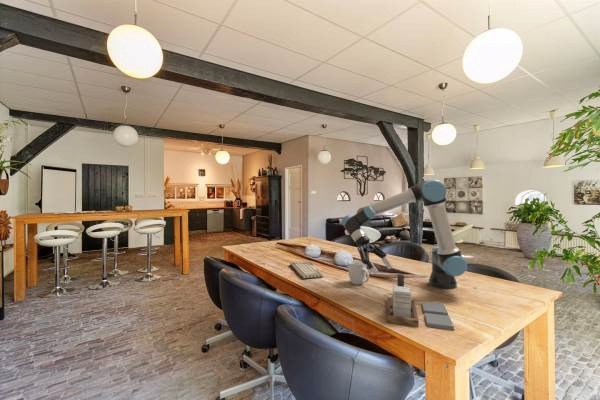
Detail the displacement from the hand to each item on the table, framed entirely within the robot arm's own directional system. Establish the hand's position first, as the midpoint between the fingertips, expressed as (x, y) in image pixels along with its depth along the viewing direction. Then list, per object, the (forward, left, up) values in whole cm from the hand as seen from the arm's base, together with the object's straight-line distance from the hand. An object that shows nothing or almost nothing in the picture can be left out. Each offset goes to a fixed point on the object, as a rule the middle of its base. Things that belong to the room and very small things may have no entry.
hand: (383, 270), depth 144 cm
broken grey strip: (-23, +13, -15) cm, 31 cm away
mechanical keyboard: (+55, -37, -16) cm, 68 cm away
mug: (+16, -20, -15) cm, 30 cm away
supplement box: (-8, +18, -15) cm, 25 cm away
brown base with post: (-8, +13, -15) cm, 22 cm away
